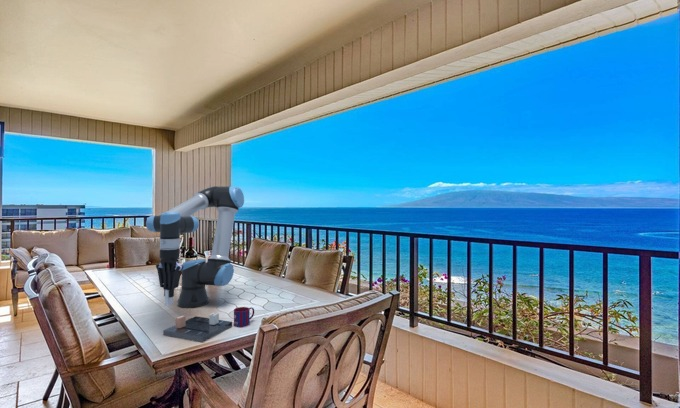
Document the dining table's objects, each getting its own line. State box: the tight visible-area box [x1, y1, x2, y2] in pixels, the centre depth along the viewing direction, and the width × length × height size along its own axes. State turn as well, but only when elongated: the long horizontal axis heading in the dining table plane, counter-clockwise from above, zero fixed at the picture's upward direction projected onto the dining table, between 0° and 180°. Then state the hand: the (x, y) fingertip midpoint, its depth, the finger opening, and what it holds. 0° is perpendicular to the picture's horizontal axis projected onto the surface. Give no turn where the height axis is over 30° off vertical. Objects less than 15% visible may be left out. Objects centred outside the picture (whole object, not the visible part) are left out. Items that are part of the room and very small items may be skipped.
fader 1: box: [174, 315, 187, 328], centre depth 140 cm, size 2×3×4 cm
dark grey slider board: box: [162, 315, 233, 343], centre depth 142 cm, size 20×18×2 cm
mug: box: [233, 306, 255, 328], centre depth 151 cm, size 7×10×7 cm
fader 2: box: [208, 312, 220, 325], centre depth 145 cm, size 2×3×4 cm
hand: (168, 304), depth 142 cm, fingers closed
